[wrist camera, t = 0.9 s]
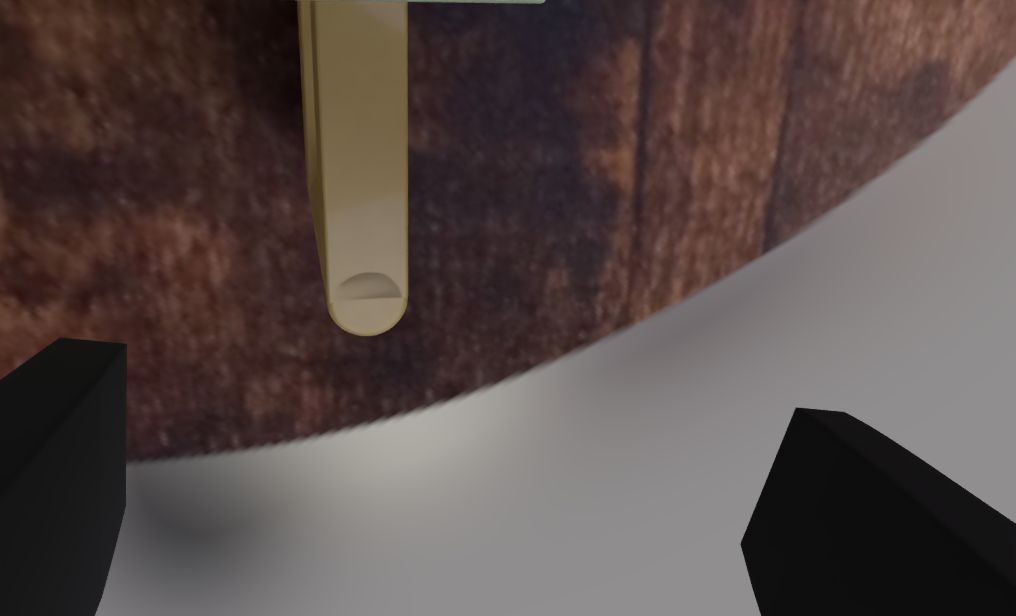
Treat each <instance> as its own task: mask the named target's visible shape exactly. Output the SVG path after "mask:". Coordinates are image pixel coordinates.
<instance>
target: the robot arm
mask: <svg viewBox="0 0 1016 616" xmlns="http://www.w3.org/2000/svg"><path fill="white" fill-rule="evenodd" d="M126 381H127V344H122V343H111V342H101V341H90V340H79V339H69V338H59V339H58V340H56V341H55V342H53V343H52V344H50V345H49V346H47V347H46V348H45V349H43V350H42V351H40V352H39V353H37V354H36V355H35V356H33V357H32V358H30V359H29V360H28V361H26V362H25V363H23V364H22V365H20V366H19V367H18V368H16V369H15V370H13V371H12V372H11V373H9V374H8V375H7V376H5V377H4V378H2V379H1V380H0V616H95V613H96V611H97V608H98V606H99V603H100V601H101V598H102V595H103V591H104V587H105V584H106V580H107V576H108V573H109V569H110V565H111V562H112V558H113V554H114V550H115V547H116V543H117V539H118V535H119V531H120V527H121V523H122V519H123V515H124V511H125V507H126ZM741 548H742V551H743V555H744V558H745V562H746V566H747V570H748V573H749V577H750V580H751V584H752V588H753V591H754V594H755V598H756V601H757V604H758V607H759V610H760V613H761V616H1016V523H1014V522H1013V521H1011V520H1010V519H1008V518H1007V517H1005V516H1004V515H1002V514H1001V513H999V512H998V511H996V510H995V509H993V508H992V507H990V506H988V504H986V503H985V502H983V501H982V500H980V499H979V498H977V497H976V496H974V495H973V494H971V493H970V492H969V491H967V490H966V489H964V488H963V487H961V486H960V485H958V484H957V483H955V482H954V481H952V480H951V479H950V478H948V477H947V476H945V475H944V474H942V473H941V472H939V471H938V470H936V469H935V468H933V467H932V466H931V465H929V464H927V463H926V462H925V461H923V460H922V459H920V458H919V457H917V456H916V455H914V454H913V453H911V452H910V451H908V450H907V449H905V448H904V447H902V446H901V445H899V444H898V443H896V442H894V441H893V440H891V439H890V438H888V437H887V436H885V435H884V434H882V433H880V432H879V431H877V430H876V429H874V428H872V427H871V426H869V425H867V424H865V423H864V422H862V421H860V420H858V419H856V418H855V417H853V416H851V415H849V414H847V413H845V412H838V411H828V410H817V409H807V408H796V409H795V411H794V413H793V416H792V419H791V421H790V423H789V426H788V428H787V431H786V433H785V436H784V438H783V441H782V443H781V445H780V448H779V450H778V453H777V455H776V458H775V460H774V463H773V465H772V468H771V470H770V472H769V475H768V478H767V480H766V483H765V485H764V487H763V490H762V492H761V495H760V497H759V500H758V502H757V504H756V507H755V510H754V512H753V514H752V517H751V519H750V522H749V524H748V527H747V529H746V532H745V534H744V537H743V539H742V541H741Z"/></svg>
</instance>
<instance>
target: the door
mask: <svg viewBox="0 0 1016 616" xmlns="http://www.w3.org/2000/svg"><path fill="white" fill-rule="evenodd" d="M407 2H461V3H537V4H541V3H543V2H545V0H297V9H298V28H299V48H300V67H301V86H302V106H303V125H304V145H305V164H306V181H307V188H308V194H309V200H310V206H311V212H312V218H313V224H314V230H315V236H316V242H317V247H318V253H319V259H320V265H321V271H322V277H323V283H324V289H325V295H326V301H327V307H328V311H329V313H330V316H331V317H332V319H333V320H334V322H335V323H336V324H337V325H338V326H339V327H341V328H342V329H343V330H345V331H347V332H349V333H352V334H355V335H360V336H371V335H377V334H380V333H383V332H385V331H387V330H389V329H390V328H392V327H393V326H394V325H395V324H396V323H397V322H398V321H399V320H400V318H401V317H402V315H403V313H404V312H405V309H406V306H407V300H408V6H407Z"/></svg>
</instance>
